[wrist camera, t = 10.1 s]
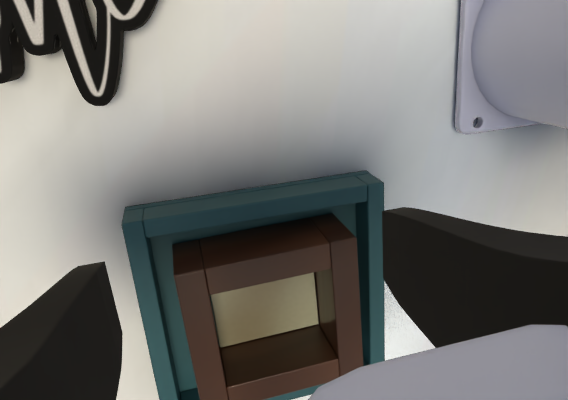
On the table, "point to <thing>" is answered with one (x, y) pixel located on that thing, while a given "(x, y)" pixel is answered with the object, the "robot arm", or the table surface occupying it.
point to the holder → (236, 217)
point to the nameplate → (71, 39)
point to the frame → (270, 307)
